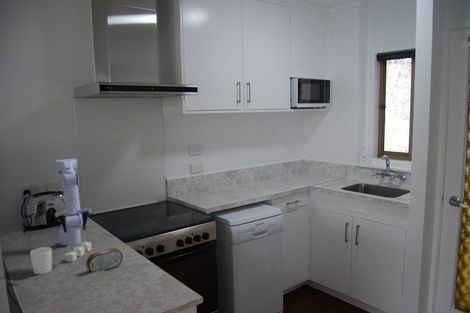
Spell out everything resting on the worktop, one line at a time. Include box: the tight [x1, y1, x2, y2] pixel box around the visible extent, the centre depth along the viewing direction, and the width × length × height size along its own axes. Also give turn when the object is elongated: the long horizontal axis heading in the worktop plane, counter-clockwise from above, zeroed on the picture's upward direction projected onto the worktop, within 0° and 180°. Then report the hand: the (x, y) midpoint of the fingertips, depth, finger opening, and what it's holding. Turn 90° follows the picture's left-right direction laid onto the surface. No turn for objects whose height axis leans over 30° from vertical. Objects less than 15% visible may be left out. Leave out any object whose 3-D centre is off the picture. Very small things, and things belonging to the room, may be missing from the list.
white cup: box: [29, 246, 53, 275], centre depth 150 cm, size 8×8×10 cm
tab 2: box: [72, 245, 86, 257], centre depth 166 cm, size 4×3×4 cm
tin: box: [85, 247, 124, 273], centre depth 152 cm, size 15×3×8 cm, turn 131°
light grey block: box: [80, 240, 93, 252], centre depth 172 cm, size 4×3×4 cm
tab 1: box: [64, 250, 78, 263], centre depth 160 cm, size 4×3×4 cm
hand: (75, 231), depth 159 cm, fingers open, 7 cm apart
